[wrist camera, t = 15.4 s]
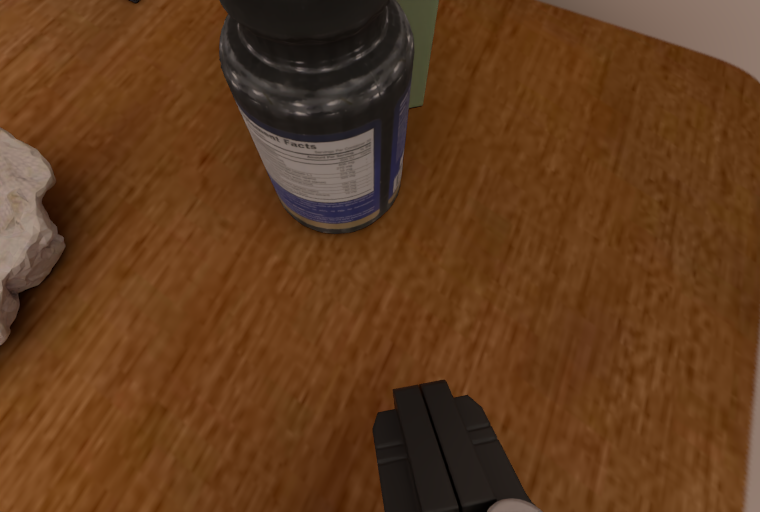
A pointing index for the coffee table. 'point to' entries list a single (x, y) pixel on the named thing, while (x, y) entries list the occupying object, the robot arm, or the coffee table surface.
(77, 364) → the coffee table surface
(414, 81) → the green block
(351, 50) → the pill bottle
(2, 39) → the coffee table surface
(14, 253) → the fossil
